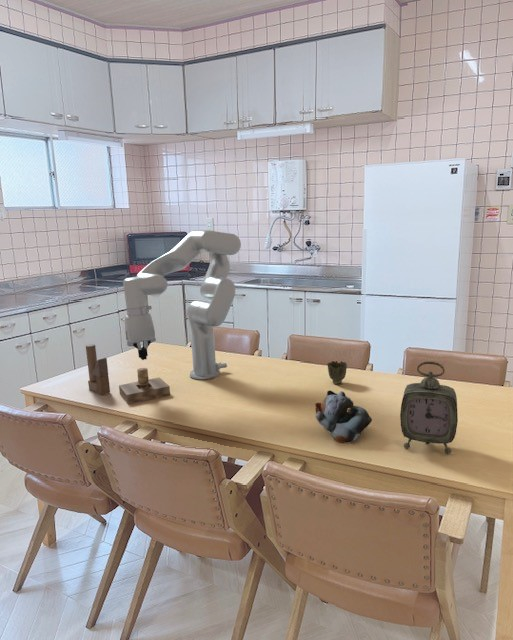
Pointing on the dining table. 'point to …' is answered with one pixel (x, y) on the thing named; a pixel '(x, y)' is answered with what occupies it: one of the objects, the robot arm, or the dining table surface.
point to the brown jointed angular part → (97, 371)
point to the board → (144, 390)
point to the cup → (337, 371)
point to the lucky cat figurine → (342, 417)
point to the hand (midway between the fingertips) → (143, 358)
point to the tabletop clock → (429, 411)
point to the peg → (143, 377)
